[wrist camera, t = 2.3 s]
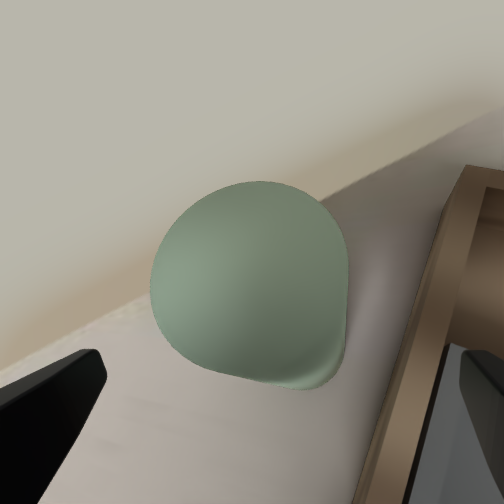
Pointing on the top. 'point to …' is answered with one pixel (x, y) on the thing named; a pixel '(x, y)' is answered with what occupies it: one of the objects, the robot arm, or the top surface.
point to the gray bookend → (449, 447)
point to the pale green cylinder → (255, 285)
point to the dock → (441, 324)
